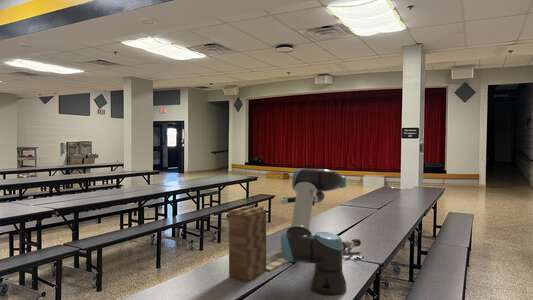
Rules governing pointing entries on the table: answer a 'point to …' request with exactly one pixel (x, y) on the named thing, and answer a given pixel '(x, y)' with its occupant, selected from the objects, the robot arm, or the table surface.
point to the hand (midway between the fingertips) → (291, 203)
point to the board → (275, 263)
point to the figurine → (350, 245)
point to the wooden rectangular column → (247, 243)
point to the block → (273, 256)
